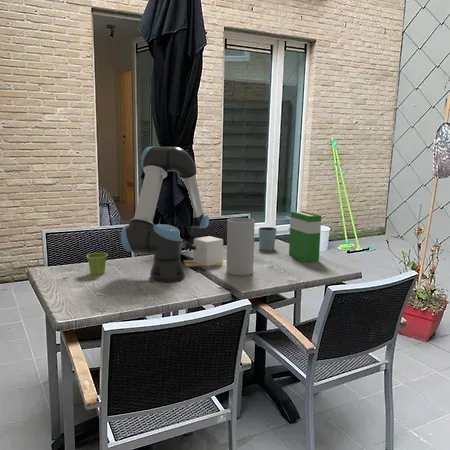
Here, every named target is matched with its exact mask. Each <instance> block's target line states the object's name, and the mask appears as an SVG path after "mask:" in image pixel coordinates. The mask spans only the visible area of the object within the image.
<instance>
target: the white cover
mask: <svg viewBox="0 0 450 450" xmlns="http://www.w3.org/2000/svg"><path fill="white" fill-rule="evenodd" d="M194 245H198V246H201V252H198V251H195V250H193V260H194V262H195V263H198V264H201V265H204V266H203V267H211V266H210V265H215V264H220V263H223V259H224V239H223V238H219V237H215V236H211V235H208V236H201V237H195V239H194Z"/></svg>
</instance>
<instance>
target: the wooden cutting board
mask: <svg viewBox="0 0 450 450" xmlns="http://www.w3.org/2000/svg"><path fill="white" fill-rule="evenodd" d="M193 260H194V259H182V261H183V263H184V265H185V267H186V268H190V267H191V268H193V267H195V268H196V267H205V266H204V265H201V264H198V263H195V262H194V261H193ZM216 266H218V267H219V266H227V258H223V263H220V264H215V265H210V266H209V267H216Z"/></svg>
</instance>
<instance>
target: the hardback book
mask: <svg viewBox="0 0 450 450" xmlns="http://www.w3.org/2000/svg"><path fill="white" fill-rule="evenodd" d="M289 224H290V226H289V244H288V245H289V246H288V247H289V248H288V255H289V256H291V257H294V258H296V259H298V260H299V261H302V262H305V263H314V262H315V263H316V262H320V249H321V248H320V246H321V231H322V230H321V228H322V215H320V214H317V213H316V214H315V213H312V212H308V211H304V210H301V211H300V212H296V211H292V210H291V211H290V223H289Z"/></svg>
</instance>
